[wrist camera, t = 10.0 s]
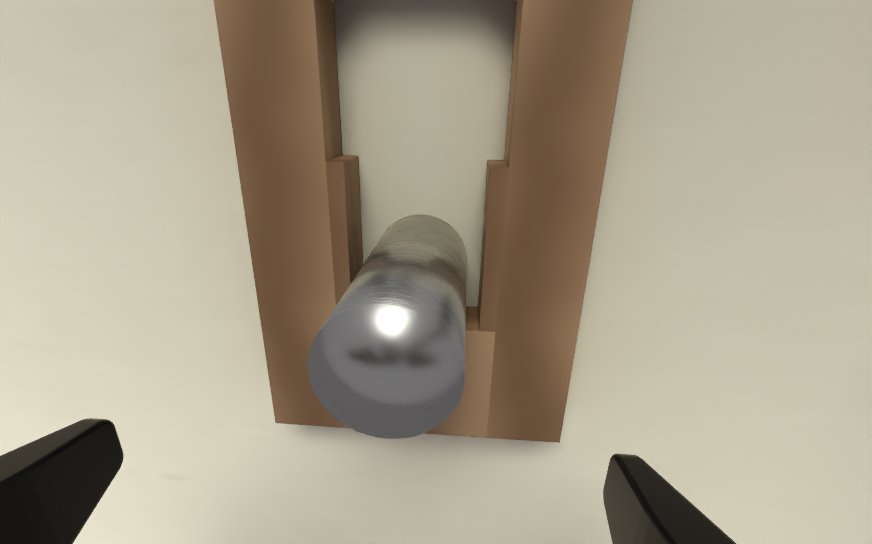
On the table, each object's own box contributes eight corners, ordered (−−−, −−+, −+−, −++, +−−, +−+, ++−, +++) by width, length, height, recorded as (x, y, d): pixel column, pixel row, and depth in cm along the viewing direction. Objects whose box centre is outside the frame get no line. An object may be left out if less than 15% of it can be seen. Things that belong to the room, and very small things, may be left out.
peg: (468, 216, 16) (468, 309, 9) (464, 301, 18) (460, 443, 10) (376, 213, 16) (300, 300, 9) (378, 296, 18) (314, 433, 10)
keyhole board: (637, -164, 12) (668, -214, 10) (550, 410, 19) (559, 442, 17) (226, -159, 13) (183, -205, 11) (293, 393, 20) (275, 422, 18)
